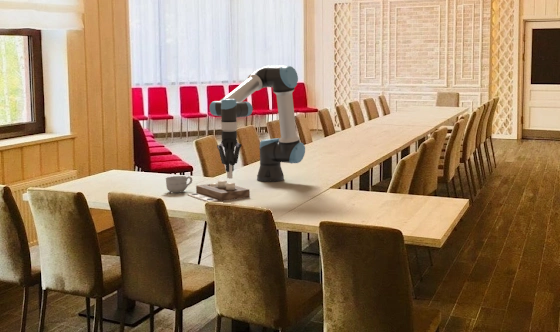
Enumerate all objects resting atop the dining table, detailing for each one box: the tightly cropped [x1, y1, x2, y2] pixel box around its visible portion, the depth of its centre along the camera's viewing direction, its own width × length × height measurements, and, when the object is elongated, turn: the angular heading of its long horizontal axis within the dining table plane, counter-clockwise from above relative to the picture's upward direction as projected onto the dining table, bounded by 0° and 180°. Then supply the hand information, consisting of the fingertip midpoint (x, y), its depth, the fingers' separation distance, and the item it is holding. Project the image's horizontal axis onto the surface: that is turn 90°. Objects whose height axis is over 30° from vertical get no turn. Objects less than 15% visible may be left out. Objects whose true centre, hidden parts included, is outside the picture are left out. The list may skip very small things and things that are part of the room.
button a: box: [209, 182, 218, 187], centre depth 375 cm, size 5×5×3 cm
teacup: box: [165, 175, 193, 194], centre depth 379 cm, size 14×11×8 cm
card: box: [187, 192, 219, 202], centre depth 362 cm, size 5×22×1 cm, turn 34°
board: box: [195, 183, 251, 202], centre depth 368 cm, size 16×26×4 cm, turn 34°
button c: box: [226, 182, 236, 190], centre depth 361 cm, size 5×5×3 cm
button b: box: [217, 179, 228, 188], centre depth 368 cm, size 5×5×3 cm
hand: (229, 178), depth 360 cm, fingers closed
